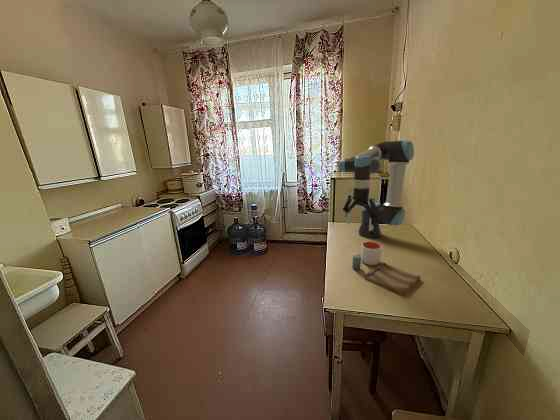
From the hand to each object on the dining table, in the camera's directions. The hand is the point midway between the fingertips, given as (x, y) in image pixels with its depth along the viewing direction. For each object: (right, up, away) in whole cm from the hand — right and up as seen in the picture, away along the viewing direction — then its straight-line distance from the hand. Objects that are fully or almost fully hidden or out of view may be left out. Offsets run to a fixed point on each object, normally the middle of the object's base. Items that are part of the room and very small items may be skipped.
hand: (359, 226), depth 119 cm
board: (+12, -25, -11) cm, 29 cm away
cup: (+8, -20, +6) cm, 23 cm away
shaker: (-2, -22, 0) cm, 22 cm away
